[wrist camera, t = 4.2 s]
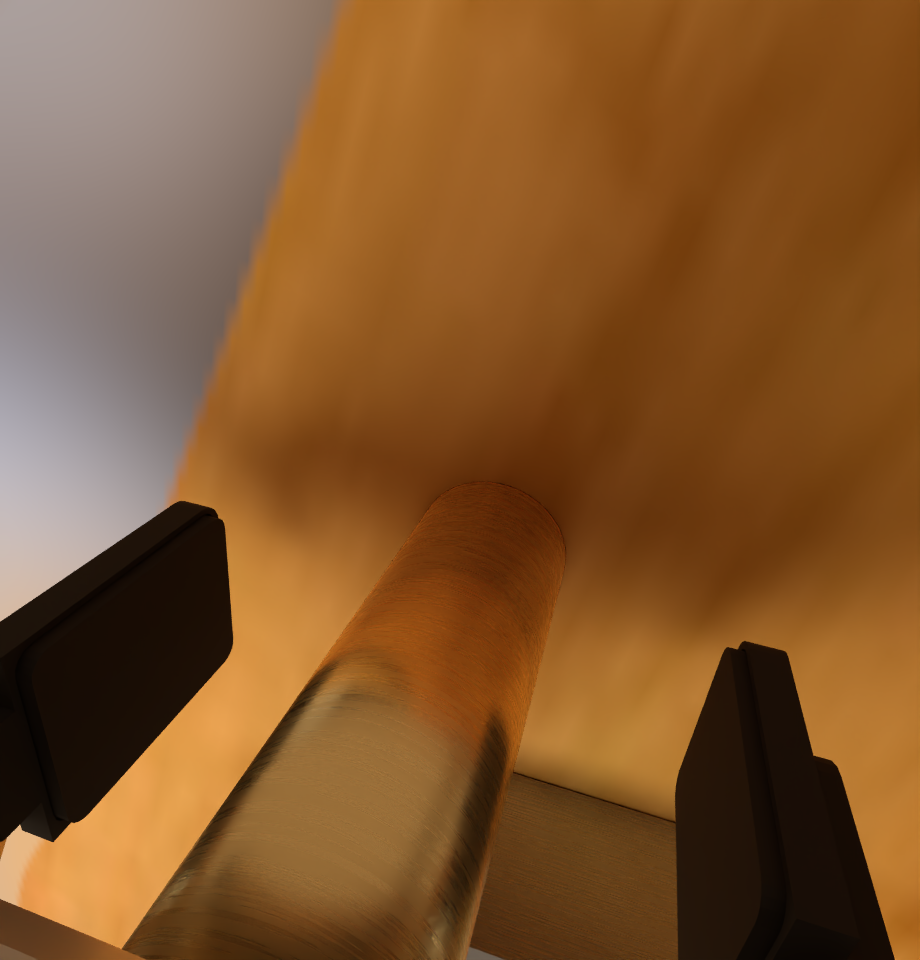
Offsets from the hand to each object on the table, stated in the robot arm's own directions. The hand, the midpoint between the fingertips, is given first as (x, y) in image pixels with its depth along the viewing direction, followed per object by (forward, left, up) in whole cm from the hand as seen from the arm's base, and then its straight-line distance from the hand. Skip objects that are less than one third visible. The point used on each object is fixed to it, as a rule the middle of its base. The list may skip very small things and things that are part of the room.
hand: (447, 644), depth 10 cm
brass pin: (0, 0, -3) cm, 3 cm away
